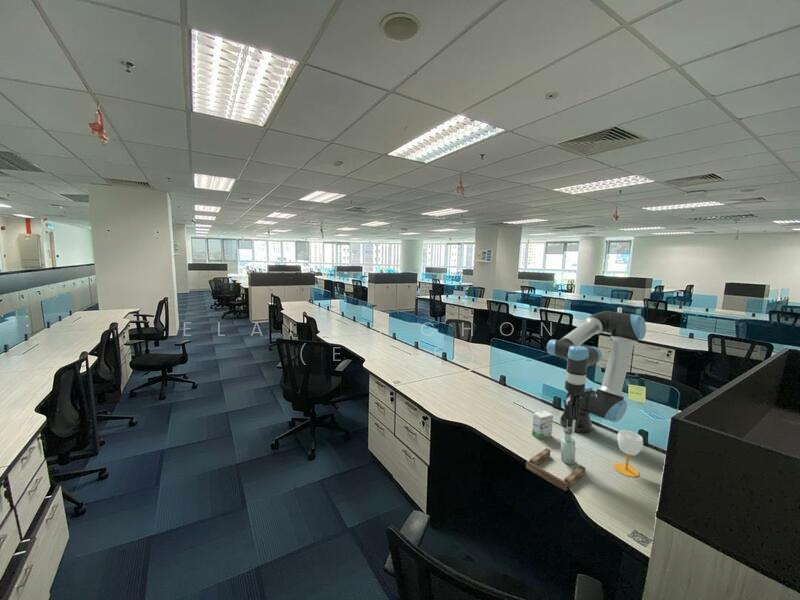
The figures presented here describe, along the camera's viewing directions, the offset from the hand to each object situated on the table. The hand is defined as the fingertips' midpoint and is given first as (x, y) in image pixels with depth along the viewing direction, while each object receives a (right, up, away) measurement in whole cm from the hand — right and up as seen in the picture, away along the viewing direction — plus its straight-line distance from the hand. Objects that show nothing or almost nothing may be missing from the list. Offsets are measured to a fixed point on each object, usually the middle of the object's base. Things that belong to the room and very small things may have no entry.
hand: (570, 432), depth 142 cm
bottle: (0, -13, +2) cm, 13 cm away
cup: (+22, -15, -3) cm, 27 cm away
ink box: (-3, -11, +23) cm, 25 cm away
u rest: (-9, -14, -5) cm, 18 cm away
